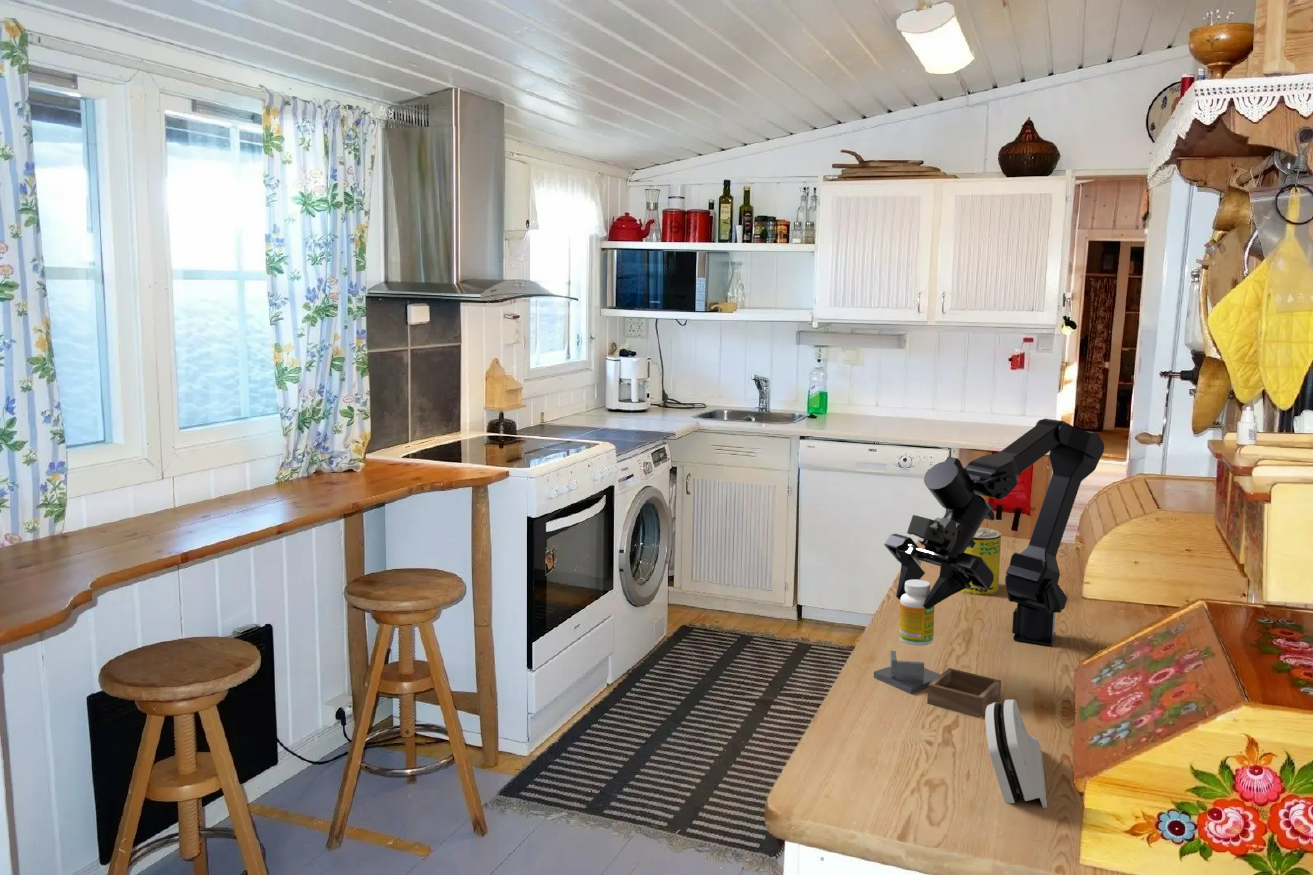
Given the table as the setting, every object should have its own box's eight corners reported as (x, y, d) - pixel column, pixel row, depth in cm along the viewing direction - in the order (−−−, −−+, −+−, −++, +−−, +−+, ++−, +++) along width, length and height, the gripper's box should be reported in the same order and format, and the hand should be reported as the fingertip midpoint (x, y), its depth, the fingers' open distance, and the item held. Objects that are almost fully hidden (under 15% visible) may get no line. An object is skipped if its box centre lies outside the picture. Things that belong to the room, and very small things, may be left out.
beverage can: (1003, 586, 215) (1006, 530, 213) (991, 597, 207) (994, 540, 205) (960, 579, 220) (962, 525, 218) (947, 590, 212) (950, 534, 210)
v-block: (907, 666, 172) (908, 643, 171) (944, 682, 165) (946, 658, 165) (873, 677, 167) (874, 654, 167) (911, 693, 161) (912, 669, 160)
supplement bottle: (928, 648, 162) (930, 590, 161) (894, 643, 165) (896, 585, 163) (936, 637, 167) (938, 580, 165) (904, 632, 169) (905, 576, 168)
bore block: (948, 685, 164) (949, 667, 163) (1000, 698, 159) (1001, 680, 158) (927, 703, 157) (927, 684, 157) (980, 717, 152) (981, 698, 152)
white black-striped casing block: (1047, 809, 127) (1022, 734, 126) (1008, 815, 128) (984, 742, 128) (1041, 749, 142) (1019, 682, 142) (1007, 755, 144) (985, 689, 143)
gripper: (893, 486, 172) (844, 561, 167) (985, 507, 156) (934, 590, 152) (923, 524, 177) (877, 598, 173) (1015, 548, 162) (967, 629, 158)
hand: (911, 602), depth 164 cm, fingers closed on supplement bottle, 5 cm apart
